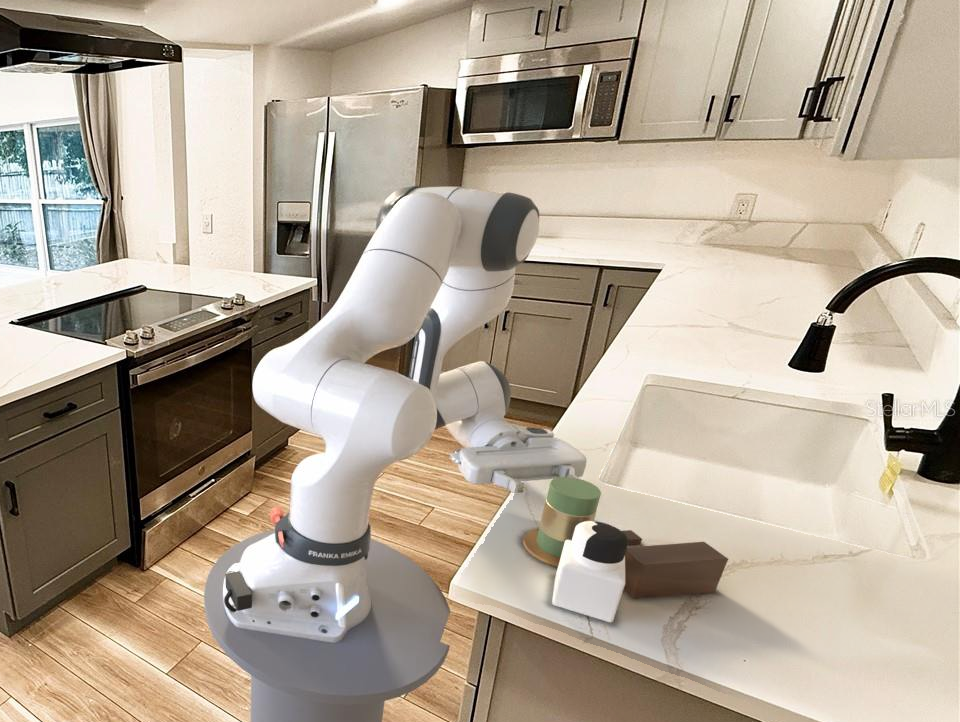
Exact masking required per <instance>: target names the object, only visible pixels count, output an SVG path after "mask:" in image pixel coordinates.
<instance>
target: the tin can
mask: <svg viewBox="0 0 960 722" xmlns="http://www.w3.org/2000/svg"><path fill="white" fill-rule="evenodd" d="M578 478H579V477H578ZM578 478H572V477H558V478H555V479H551V481H550V483H549V487H548V492H547V495H546V498H545V502H544V505H543V506H544V507H543V510H542V514H541V518H540V522H539V528H538V529H539V532H538V536H537V540H536V542H537V545H538V546H539V547H540V548H541V549H542V550H543V551H545V552H546V553H548V554H550V555H552V556H555V557H558V558H561V554H562V551H563V547H564V543H565V541H566V540H571V541H572V538H573V534H574V531H575V527H576V526H577V525H578V524H580V523H582V522H586V521H595V519H596V515H597V512H598V511H597V509H598V506H599V503H600V499H601V496H602V491H601V489H600V488H599V487H598V486H596V485H595V484H594V483H591V482H590V481H588V480H584V479H581V478H579V479H578Z"/></svg>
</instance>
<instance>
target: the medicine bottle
mask: <svg viewBox="0 0 960 722" xmlns="http://www.w3.org/2000/svg"><path fill="white" fill-rule="evenodd" d="M622 531H623V530H621V529H619V528H618V527H616V526H614V525H611V524H609V523H605V522H602V521H595V520H594V521H586V522H582V523H580V524H578V525H577V526H576V527H575V531H574V534H573V538H572V541H571V540H566V541H565V543H564V547H563V551H562V554H561V558H560V562H559V565H558V567H557V570H556V573H555V577H554V586H553V592H552V600H551V603H552V605H553V606H555V607H559V608H561V609H565V610H568V611H571V612H575V613H577V614H581V615H585V616H587V617H590V618H594V619H597V620H599V621H603V622H607V623H613V622H614V620H615V616H616V614H617V610H618V607H619V604H620V601H621V599H622V596H623V592H624V590H623V589H624V586H625V553H626V550H627V547H629V546H628V543H629V540H628V538H627V536H626V535H625V534H624V533H623V532H622Z"/></svg>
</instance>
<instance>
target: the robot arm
mask: <svg viewBox="0 0 960 722" xmlns="http://www.w3.org/2000/svg"><path fill="white" fill-rule="evenodd" d="M375 222H376V223H375V232H374V233H373V235H372V237H371V239H370V240H369V242H368V243H367V245H366V246H365V249H364V251H363V252H362V255H361V257H360V259H359V261H358V263H357V264H356V266H355V268H354V270H353V272H352V274H351V276H350V278H349V279H348V281H347V283H346V285H345V287H344V288H343V291H342V292H341V294H340V295H339V297H338V299H337V300H336V302H335V303H334V304H333V306H332V307H331V308H330V309H329V311H328V312H327V313H326V314H325V315H324V316H323V317H322V318H321V319H320V320H319V321H318V322H317V323H316V324H315V325H314V326H312V328H310V329H308V330H307V332H305V333H304V334H302V335H301V336H300V337H298V338H296V339H294V340H293V341H290V342H289V343H286V344H284V345H282V346H281V345H280V346H278V347H275V348H273V349H272V350H270V351H268V352H267V353H266V354H265V355H264V356H263V357H262V358H261V359H260V361H259V363H258V364H257V366H256V368H255V370H254V372H253V377H252V382H251V383H252V384H251V385H252V394H253V399H254V401H255V403H256V405H257V406H258V407H259V408H260V409H262V410H263V411H265V412H266V413H268V414H269V415H270V416H272V417H273V418H274V419H276V420H277V421H279V422H281V423H282V424H286V425H289V426H290V427H294V428H296V429H299V430H301V431H305V432H307V433H309V434H312V435H315V436H317V437H319V438H320V439H321V440H323V442H324V446H325V450H324V451H323V452H319V453H315V454H311V455H309V456H307V457H305V458H304V459H302V460H301V461H300V462H299V463H298V464H297V465H296V466H295V469H294V470H293V472H292V474H291V478H290V480H291V481H290V496H289V498H290V500H289V511H288V512H287V514H285V515H284V511H283V509H282V508H281V507H278V506H276V507H273V508H271V509H270V511H269V516H270V521H271V523H272V524H274V525H275V526H274V530H275V533H273V534H271V535H269V536H267V537H265V538H263V539H261V540H259V541H257V542H255V543H253V544H251V545H249V546H248V547H247V548H246V549H245V551H244V552H243V554H242V557H241V559H240V563H236V564H233V565H232V566H231V567H230V568H229V570H228V571H227V573H226V574H225V579H224V584H223V603H224V608H225V611H226V613H227V615H228V617H229V619H230V620H231V622H232V623H233V624H234V625H235V626H236V627H238V628H243V629H249V630H255V631H262V632H268V633H274V634H281V635H287V636H293V637H300V638H306V639H312V640H319V641H325V642H332V643H336V642H339V641H340V640H341V639H342V638H343V637H344V636H345V634H346V632H347V631H348V630H349V629H350V628H352V627H354V626H356V625H358V624H359V623H361V622H362V621H363V620H364V619H365V618H366V617H367V616H368V614H369V612H370V609H371V598H370V594H369V590H368V585H367V578H366V560H367V558H368V551H369V550H370V541H371V539H372V530H371V524H370V523H369V522H370V521H369V519H370V512H371V505H372V498H373V494H374V489H375V486H376V482H377V480H378V479H379V477H380V476H381V474H382V473H384V471H385V470H386V469H387V468H388V467H390V466H391V465H393V464H395V463H398V462H401V461H405V460H407V459H410V458H411V457H413V456H415V455H416V454H418V453H419V452H421V450H423V449H424V448H425V446H426V445H427V444H428V443H429V442H430V440H431V438H432V437H433V434H434V432H435V430H439V429H441V428H443V427H445V428H446V429H447V431H448V432H449V434H450V435H451V436H452V437H453V439H455V441H457V442H458V444H460V445H461V446H462V447H463V448H458V449H454V450H453V451H451V452H450V453H449V456H448V457H449V459H450V461H452V462H453V463H455V464H457V468H458V470H459V472H460V473H461V475H462V476H463V478H464V479H465V480H466V481H467V482H468V483H470V484H473V485H477V486H478V485H491V484H495V486H499V487H502V488H505V489H507V490H509V491H510V492H511V493H512V494H520V493H522V494H523V493H524V489H525V483H524V482H532V481H533V482H534V481H545V480H546V481H547V480H553V479H555V478H558V477H572V478H578V479H580V478H581V477H583V475H584V473H585V471H586V467H587V461H588V459H587V456H586V455H584V453H582V452H581V451H580V450H579V449H577V448H575V446H573V445H572V444H570V443H568V442H566V441H565V440H562V439H561V438H557V437H555V433H554V432H553V431H552V430H550V429H548V428H541V427H540V428H538V427H530V426H523V425H519V424H517V423H511V422H509V421H508V420H506V419H505V417H506V416H507V414H508V411H509V407H510V403H511V397H512V391H511V385H510V382H509V381H508V378H507V377H506V375H505V374H504V373H503V372H502V371H501V370H500V369H499V368H498V367H497V366H495V365H493V363H490V362H487V361H485V360H479V361H475V362H472V363H469V364H466V365H462V366H459V367H456V368H454V369H451V370H447V371H444V372H441V371H442V366H443V361H444V358H445V355H446V354H447V352H448V351H449V350H450V348H451V347H453V345H455V344H456V343H457V342H458V341H460V340H461V339H462V338H465V337H466V336H467V335H469V334H471V333H472V332H474V331H475V330H478V329H479V328H480V327H482V326H484V325H486V324H488V323H489V322H491V321H493V320H494V319H495V318H497V317H498V316H499V315H500V314H501V313H502V312H503V311H504V310H505V309H506V307H507V306H508V305H509V303H510V301H511V300H510V299H511V298H512V295H513V292H514V288H515V279H516V267H518V266H520V265H521V264H523V263H524V262H525V261H526V260H527V259H528V257H529V255H530V253H531V252H532V250H533V248H534V246H535V245H536V242H537V239H538V236H539V233H540V211H539V208H538V206H537V205H536V204H535V202H534V201H533V200H532V198H531V197H528V196H525V195H522V194H518V193H515V192H510V191H508V192H505V193H500V192H497V191H496V192H495V191H490V190H484V189H478V188H477V189H476V188H465V187H464V186H428V187H423V186H421V185H412V186H406V187H402V188H398V189H396V190H395V191H394V192H393V193H391V194H390V195H389V196H388V197H387V198H385V200H384V201H383V203H382V205H381V206H380V209H379V211H378V214H377V219H376V221H375ZM413 338H414V340H413V346H412V353H411V359H410V364H409V365H410V366H409V371H408V375H407V376H408V377H407V376H405V375H403V374H401V373H400V372H397V371H395V370H392V369H391V370H390V369H387V368H385V367H384V368H383V367H380V366H375V365H372V364H368V363H366V362H367V361H369V360H370V359H371V358H372V357H374V356H376V355H377V354H379V353H381V352H384V351H387V350H391V349H394V348H398V347H401V346H403V345H405V344H407V343H408V342H410V341H411V340H412V339H413ZM323 632H324V633H323Z"/></svg>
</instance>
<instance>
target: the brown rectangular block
mask: <svg viewBox="0 0 960 722" xmlns="http://www.w3.org/2000/svg"><path fill="white" fill-rule="evenodd" d="M621 531H622V532H623V533H624V534H625V535H626V536H627V538H628V540H629V543H628V546H627V550H626V553H625V586H624V589H623V591H625V593H627V594H628V595H629V596H630V597H631V598H632V599H645V598H646V599H647V598H657V597H658V598H659V597H670V596H672V597H673V596H684V595H685V596H686V595H698V594H708V593H710V594H712V593H715V592H716V591H717V588H718V586H719V583H720V580H721V578H722V575H723V573H724V571H725V568H726V566H727V563H728V561H729V557H727V556H725V555H724V554H723V553H721V552H720V551H718V550H717V549H716V548H714V547H712V546H711V545H710V544H708V543H707V542H705V541H691V542H681V543H668V544H667V543H666V544H653V545H652V544H651V545H641V543H642V540H643V538H642V537H640V536H639V535H638V534H637V533H635V532H634V531H633V530H632V529H628V530H621Z"/></svg>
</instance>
